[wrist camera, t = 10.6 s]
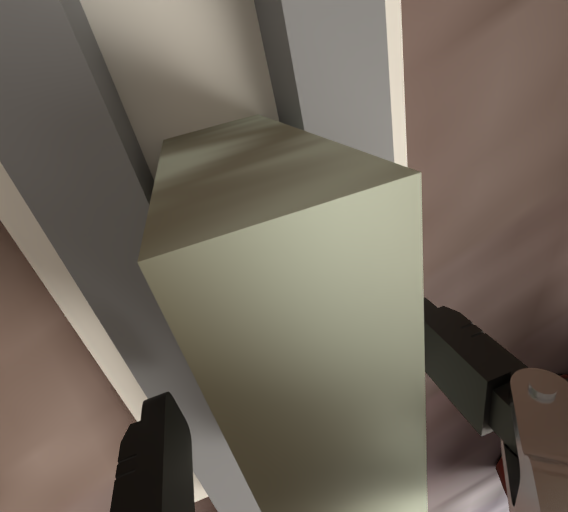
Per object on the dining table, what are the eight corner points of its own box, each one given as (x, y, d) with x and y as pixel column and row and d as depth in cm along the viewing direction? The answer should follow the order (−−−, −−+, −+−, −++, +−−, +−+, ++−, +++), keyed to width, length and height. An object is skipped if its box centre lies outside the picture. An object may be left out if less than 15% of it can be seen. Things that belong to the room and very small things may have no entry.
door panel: (257, 114, 13) (421, 172, 4) (318, 370, 20) (429, 590, 11) (163, 139, 12) (137, 262, 4) (258, 393, 19) (326, 643, 11)
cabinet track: (362, -142, 12) (465, -266, 8) (400, 386, 26) (445, 446, 22) (-142, -57, 10) (-382, -164, 6) (191, 472, 24) (194, 559, 19)
